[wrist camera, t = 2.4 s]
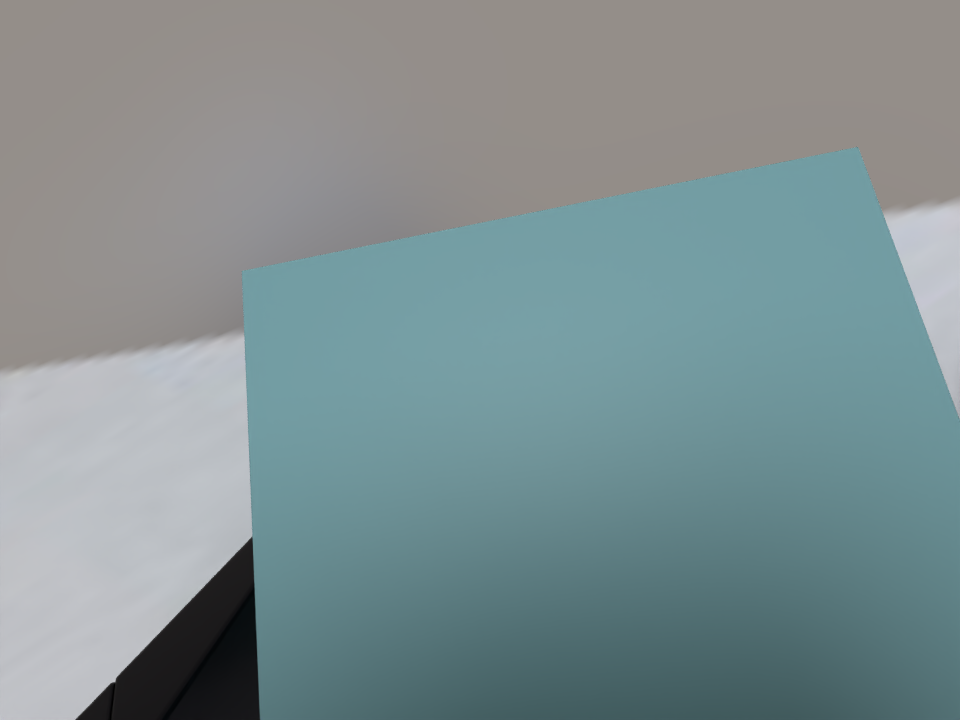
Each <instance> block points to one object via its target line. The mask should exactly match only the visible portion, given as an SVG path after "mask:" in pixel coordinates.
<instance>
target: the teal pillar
mask: <svg viewBox="0 0 960 720" xmlns="http://www.w3.org/2000/svg"><path fill="white" fill-rule="evenodd" d="M242 286H243V311H244V336H245V361H246V385H247V410H248V435H249V459H250V484H251V509H252V533H253V558H254V583H255V608H256V632H257V657H258V682H259V706H260V720H960V420H959V417H958V414H957V412H956V409H955V406H954V404H953V401H952V398H951V395H950V393H949V390H948V387H947V385H946V382H945V379H944V377H943V374H942V371H941V369H940V366H939V363H938V361H937V358H936V355H935V352H934V350H933V347H932V344H931V342H930V339H929V336H928V334H927V331H926V328H925V326H924V323H923V320H922V318H921V315H920V312H919V309H918V307H917V304H916V301H915V299H914V296H913V293H912V291H911V288H910V285H909V283H908V280H907V277H906V275H905V272H904V269H903V266H902V264H901V261H900V258H899V256H898V253H897V250H896V248H895V245H894V242H893V240H892V237H891V234H890V232H889V229H888V226H887V224H886V221H885V218H884V215H883V213H882V210H881V207H880V205H879V202H878V199H877V197H876V194H875V191H874V189H873V186H872V183H871V181H870V178H869V175H868V172H867V170H866V167H865V165H864V162H863V159H862V156H861V154H860V151H859V148H858V147H855V148H850V149H845V150H840V151H836V152H831V153H826V154H821V155H816V156H811V157H806V158H801V159H796V160H791V161H786V162H781V163H776V164H771V165H766V166H761V167H756V168H751V169H746V170H742V171H737V172H731V173H726V174H721V175H716V176H712V177H706V178H702V179H696V180H692V181H686V182H681V183H677V184H672V185H667V186H662V187H657V188H652V189H647V190H642V191H637V192H632V193H627V194H622V195H617V196H612V197H607V198H602V199H598V200H592V201H587V202H583V203H577V204H573V205H567V206H563V207H557V208H552V209H547V210H543V211H538V212H533V213H528V214H523V215H518V216H513V217H508V218H503V219H498V220H493V221H488V222H483V223H478V224H473V225H468V226H463V227H458V228H453V229H448V230H443V231H438V232H434V233H428V234H424V235H418V236H413V237H409V238H404V239H399V240H394V241H389V242H384V243H379V244H374V245H369V246H364V247H359V248H354V249H350V250H344V251H340V252H334V253H329V254H325V255H320V256H314V257H309V258H304V259H299V260H294V261H289V262H285V263H280V264H275V265H270V266H265V267H260V268H255V269H250V270H245V271H242Z"/></svg>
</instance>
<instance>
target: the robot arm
mask: <svg viewBox="0 0 960 720" xmlns="http://www.w3.org/2000/svg"><path fill="white" fill-rule="evenodd" d="M76 720H260V706H259V682H258V657H257V632H256V608H255V583H254V558H253V536H252V537H251V538H250V539H249V541H248V542H247V543H246V544H245V545H244V546H243V547H242V548H241V549H240V550H239V551H238V552H237V553H236V554H235V555H234V556H233V557H232V558H231V559H230V560H229V561H228V562H227V563H226V564H225V565H224V566H223V568H222V569H221V570H220V571H219V572H218V573H217V574H216V575H215V576H214V577H213V578H212V579H211V580H210V581H209V582H208V583H207V584H206V585H205V586H204V587H203V588H202V589H201V590H200V591H199V592H198V593H197V595H196V596H195V597H194V598H193V599H192V600H191V601H190V602H189V603H188V604H187V605H186V606H185V607H184V608H183V609H182V610H181V611H180V612H179V613H178V614H177V615H176V616H175V617H174V618H173V619H172V620H171V621H170V623H169V624H168V625H167V626H166V627H165V628H164V629H163V630H162V631H161V632H160V633H159V634H158V635H157V636H156V637H155V638H154V639H153V640H152V641H151V642H150V643H149V644H148V645H147V646H146V647H145V648H144V650H143V651H142V652H141V653H140V654H139V655H138V656H137V657H136V658H135V659H134V660H133V661H132V662H131V663H130V664H129V665H128V666H127V667H126V668H125V669H124V670H123V671H122V672H121V673H120V674H119V675H118V676H117V678H116V681H115V682H113V683H111V684H110V685H109V686H108V687H107V688H106V689H105V690H104V691H103V692H102V693H101V694H100V695H99V696H98V697H97V698H96V699H95V700H94V701H93V702H92V703H91V704H90V705H89V706H88V707H87V708H86V709H85V710H84V711H83V712H82V713H81V714H80V715H79V716H78V718H77V719H76Z"/></svg>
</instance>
